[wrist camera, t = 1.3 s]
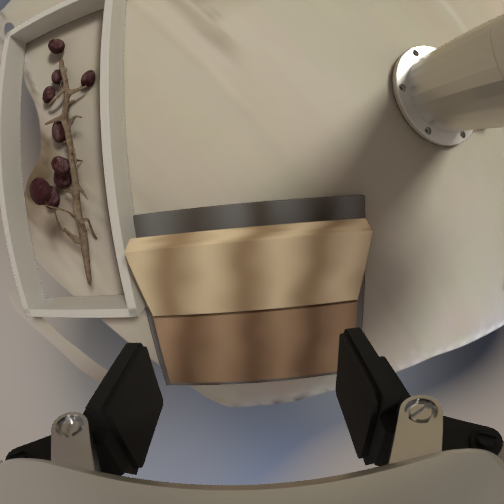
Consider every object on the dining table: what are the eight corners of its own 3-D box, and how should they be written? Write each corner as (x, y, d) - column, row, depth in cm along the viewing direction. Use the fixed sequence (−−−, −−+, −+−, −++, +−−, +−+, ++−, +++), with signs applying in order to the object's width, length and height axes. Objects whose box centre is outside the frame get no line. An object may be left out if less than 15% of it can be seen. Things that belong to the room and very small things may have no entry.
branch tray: (127, -5, 24) (115, -20, 20) (149, 301, 33) (138, 316, 30) (22, 40, 24) (6, 33, 20) (42, 304, 34) (26, 316, 30)
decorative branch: (27, 27, 19) (64, 287, 20) (90, 32, 26) (151, 257, 27) (4, 89, 26) (41, 305, 27) (58, 87, 33) (106, 280, 34)
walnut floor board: (363, 195, 30) (371, 197, 28) (356, 368, 36) (362, 379, 34) (130, 216, 31) (121, 219, 29) (167, 383, 37) (162, 394, 34)
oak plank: (365, 218, 27) (372, 231, 25) (352, 286, 32) (357, 299, 31) (129, 238, 27) (124, 252, 26) (156, 302, 33) (152, 316, 31)
